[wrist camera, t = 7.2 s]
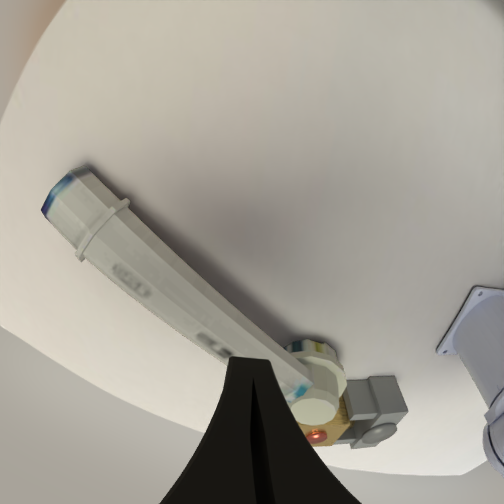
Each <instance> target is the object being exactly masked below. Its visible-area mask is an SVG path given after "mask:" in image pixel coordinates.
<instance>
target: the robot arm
mask: <svg viewBox="0 0 504 504" xmlns="http://www.w3.org/2000/svg"><path fill="white" fill-rule="evenodd" d="M436 353H437V355H453V354H458V355H459V356H460V358H461V360H462V361H463V363H464V365H465V367H466V368H467V370H468V372H469V374H470V375H471V377H472V379H473V381H474V382H475V384H476V386H477V388H478V390H479V391H480V393H481V395H482V397H483V399H484V401H485V403H486V405H487V407H488V409H489V411H488V412H487V413H486V414H485V415H484V416H485V418H486V420H487V424H486V425H485V427H484V430H483V448H484V452H485V454H486V457H487V459H488V460H489V462H490V464H491V465H492V466H493V468H494V469H496V470H497V471H498V472H499V473H500V474H501V475H502V476H503V477H504V290H500V289H492V288H484V287H475V288H474V289H473V290H472V292H471V293H470V295H469V297H468V299H467V301H466V303H465V304H464V306H463V308H462V310H461V311H460V313H459V315H458V317H457V318H456V320H455V322H454V323H453V325H452V327H451V328H450V330H449V331H448V333H447V335H446V336H445V338H444V339H443V341H442V342H441V344H440V345H439V347H438V349H437V350H436ZM160 504H362V503H360V502H359V501H358V500H357V499H356V498H355V497H354V496H353V495H352V494H351V493H350V492H349V491H348V490H347V489H346V488H345V487H344V486H343V485H342V484H341V483H340V481H339V480H338V479H337V478H336V477H335V476H334V475H333V474H332V472H331V471H330V470H329V469H328V468H327V466H326V465H325V464H324V462H323V461H322V460H321V459H320V457H319V456H318V454H317V453H316V452H315V450H314V449H313V447H312V446H311V444H310V443H309V441H308V440H307V438H306V436H305V435H304V433H303V431H302V430H301V428H300V426H299V425H298V423H297V421H296V419H295V417H294V415H293V413H292V412H291V410H290V408H289V406H288V404H287V402H286V399H285V397H284V395H283V393H282V391H281V388H280V386H279V383H278V381H277V378H276V376H275V373H274V370H273V368H272V364H271V362H270V361H269V360H268V359H258V358H247V357H237V356H232V357H230V358H229V361H228V366H227V371H226V377H225V382H224V387H223V391H222V394H221V397H220V400H219V402H218V405H217V408H216V410H215V412H214V415H213V417H212V419H211V421H210V424H209V426H208V428H207V430H206V432H205V434H204V436H203V438H202V440H201V442H200V444H199V446H198V447H197V449H196V451H195V453H194V454H193V456H192V458H191V459H190V461H189V462H188V464H187V466H186V467H185V469H184V470H183V472H182V474H181V475H180V477H179V478H178V479H177V481H176V482H175V484H174V485H173V486H172V488H171V489H170V490H169V492H168V493H167V494H166V496H165V497H164V498H163V500H162V501H161V502H160Z"/></svg>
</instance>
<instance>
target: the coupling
mask: <svg viewBox="0 0 504 504" xmlns="http://www.w3.org/2000/svg"><path fill="white" fill-rule="evenodd" d="M346 381H347V386H346V388H345V390H344V392H343V397H344V401H345V405H346V408H347V412H348V416H349V420H356V421H355V424H354V426H353V427H352V428H351V429H346V430H345V431H344V433H343V434H342V435H341V436H340V437H339V438H338V439H337V440H336V442H335V443H334V444H348V443H350V446H351V449H357V448H366V447H374V446H377V445H378V444H379V443H380V442H381V441H383V440H385V439H387V438H389V437H391V436H392V435H393V434H394V433H395V432H396V431H397V427H396V425H397V424H398V423H399V422H400V420H401V419H402V418H403V417H404V416H405V415H406V414H407V413H408V412H409V411H408V408H407V406H406V403H405V401H404V398H403V396H402V393H401V391H400V388H399V386H398V383H397V381H396V378H395V376H386V377H369V378H368V380H346ZM334 444H333V445H334Z"/></svg>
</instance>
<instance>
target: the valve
mask: <svg viewBox="0 0 504 504" xmlns="http://www.w3.org/2000/svg"><path fill="white" fill-rule="evenodd" d="M355 421H356V420H349V416H348V412H347V408H346V405H345V401H344V397H343V393H342V395H341V397H339V408H338V410H337V413H336V414H335V416H334V418H333V419H332V420H331V421H329V422H327V423H325V424H321V425H313V426H312V425H306V424H301V423H300V422H298V421H297V423H298V425H299V426H300V428H301V430H302V431H303V433H304V435H305V436H306V438H307V440H308V441H309V443H310V444H311V446H312V447H314V446H332V445H333V444H334V443H335V442H336V440H337V439H338V438H339V437H340V436H341V435H342V434H343V433H344V431H345V430H346V429H351V428H352V427H353V426H354V424H355Z"/></svg>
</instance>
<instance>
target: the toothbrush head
mask: <svg viewBox="0 0 504 504" xmlns="http://www.w3.org/2000/svg"><path fill="white" fill-rule="evenodd" d="M129 205H130V201H129V200H128V199H127V198H125V199H123V200H122V201H120V200H119V199H118V198H117V197H116V196H115V195H114V194H113V193H112V192H111V191H110V190H109V189H108V188H107V187H106V186H105V185H104V184H103V183H102V182H101V181H100V180H99V179H98V178H97V177H96V176H95V175H94V174H93V173H92V172H91V171H90V170H89V169H88V168H87V167H86V166H82V167H79V168H76V169H73V170H71V171H69V172H68V173H67V174H66V175H65V176H64V177H63V178H62V179H61V180H60V181H59V182H58V183H57V184H56V185H55V186H54V187H53V188H52V189H51V191H50V192H49V194H48V196H47V198H46V200H45V202H44V204H43V206H42V208H41V211H42V213H43V215H44V216H45V218H46V219H47V220H48V221H49V222H50V223H51V224H52V225H53V226H54V227H55V228H56V229H57V230H58V231H59V232H60V233H61V234H62V236H63V237H64V238H65V239H66V240H67V241H68V242H69V243H70V244H71V245H72V246H73V247H74V248H75V249H76V250H77V251H76V252H75V255H76V257H77V258H78V259H79V260H80V261H81V262H82V261H83V260H84V259H85V258H86V259H87V260H88V261H89V262H90V263H91V264H93V265H94V266H95V267H96V268H97V269H98V270H100V271H101V272H102V273H103V274H104V275H105V276H107V277H108V278H109V279H110V280H111V281H113V282H114V283H115V284H116V285H118V286H119V287H120V288H121V289H123V290H124V291H125V292H126V293H127V294H129V295H130V296H131V297H133V298H134V299H135V300H136V301H138V302H139V303H140V304H141V305H143V306H144V307H145V308H147V309H148V310H149V311H151V312H152V313H153V314H155V315H156V316H157V317H159V318H160V319H161V320H163V321H164V322H165V323H167V324H168V325H169V326H171V327H172V328H173V329H175V330H176V331H178V332H179V333H180V334H182V335H183V336H185V337H186V338H187V339H189V340H190V341H192V342H193V343H194V344H196V345H197V346H199V347H200V348H202V349H203V350H205V351H206V352H208V353H209V354H211V355H212V356H214V357H215V358H217V359H218V360H220V361H221V362H223V363H224V364H226V365H227V366H228V361H229V358H230V357H232V356H237V357H247V358H258V359H268V360H269V361H270V362H271V364H272V368H273V370H274V373H275V376H276V378H277V381H278V383H279V386H280V388H281V391H282V393H283V395H284V397H285V399H286V402H287V404H288V406H289V408H290V410H291V412H292V413H293V415H294V417H295V419H296V421H298V422H300V423H301V424H306V425H312V426H313V425H321V424H325V423H327V422H329V421H331V420H332V419H333V418H334V416H335V414H336V413H337V410H338V408H339V397H341V395H342V393H343V392H344V390H345V388H346V386H347V381H346V377H345V373H344V368H343V366H342V365H341V364H340V363H339V362H338V360H337V357H336V352H335V351H334V350H333V349H332V348H331V347H330V346H329V345H328V344H326V343H325V342H324V343H323V344H321V343H317V342H314V341H310V340H309V339H307V340H301V341H295V342H292V343H291V344H289V345H288V346H286V347H285V348H284V349H283V348H282V347H281V346H280V345H279V344H277V343H276V342H275V341H274V340H273V339H272V338H270V337H269V336H268V335H267V334H266V333H264V332H263V331H262V330H261V329H260V328H259V327H257V326H256V325H255V324H254V323H253V322H252V321H250V320H249V319H248V318H247V317H246V316H245V315H243V314H242V313H241V312H240V311H239V310H238V309H237V308H235V307H234V306H233V305H232V304H231V303H230V302H229V301H227V300H226V299H225V298H224V297H223V296H222V295H221V294H220V293H218V292H217V291H216V290H215V289H214V288H213V287H212V286H211V285H210V284H208V283H207V282H206V281H205V280H204V279H203V278H202V277H201V276H200V275H198V274H197V273H196V272H195V271H194V270H193V269H192V268H191V267H190V266H189V265H188V264H186V263H185V262H184V261H183V260H182V259H181V258H180V257H179V256H178V255H177V254H176V253H175V252H174V251H172V250H171V249H170V248H169V247H168V246H167V245H166V244H165V243H164V242H163V241H162V240H161V239H160V238H159V237H158V236H157V235H156V234H154V233H153V232H152V231H151V230H150V229H149V228H148V227H147V226H146V225H145V224H144V223H143V222H142V221H141V220H140V219H139V218H138V217H137V216H136V215H135V214H134V213H133V212H132V211H131V210H130V209H129Z"/></svg>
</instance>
